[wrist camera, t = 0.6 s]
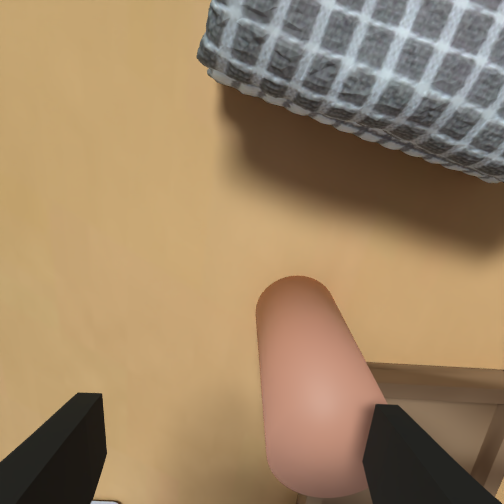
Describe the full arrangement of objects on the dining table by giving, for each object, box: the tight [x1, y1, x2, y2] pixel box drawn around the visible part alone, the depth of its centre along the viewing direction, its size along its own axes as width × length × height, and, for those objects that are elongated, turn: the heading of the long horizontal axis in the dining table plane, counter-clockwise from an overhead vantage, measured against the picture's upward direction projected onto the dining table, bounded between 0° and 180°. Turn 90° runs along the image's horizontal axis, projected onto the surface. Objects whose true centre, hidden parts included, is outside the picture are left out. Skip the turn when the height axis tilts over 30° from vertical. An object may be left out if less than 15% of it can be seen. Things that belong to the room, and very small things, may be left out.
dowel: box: [256, 276, 387, 498], centre depth 16 cm, size 4×4×9 cm
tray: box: [296, 362, 504, 504], centre depth 23 cm, size 14×12×2 cm
